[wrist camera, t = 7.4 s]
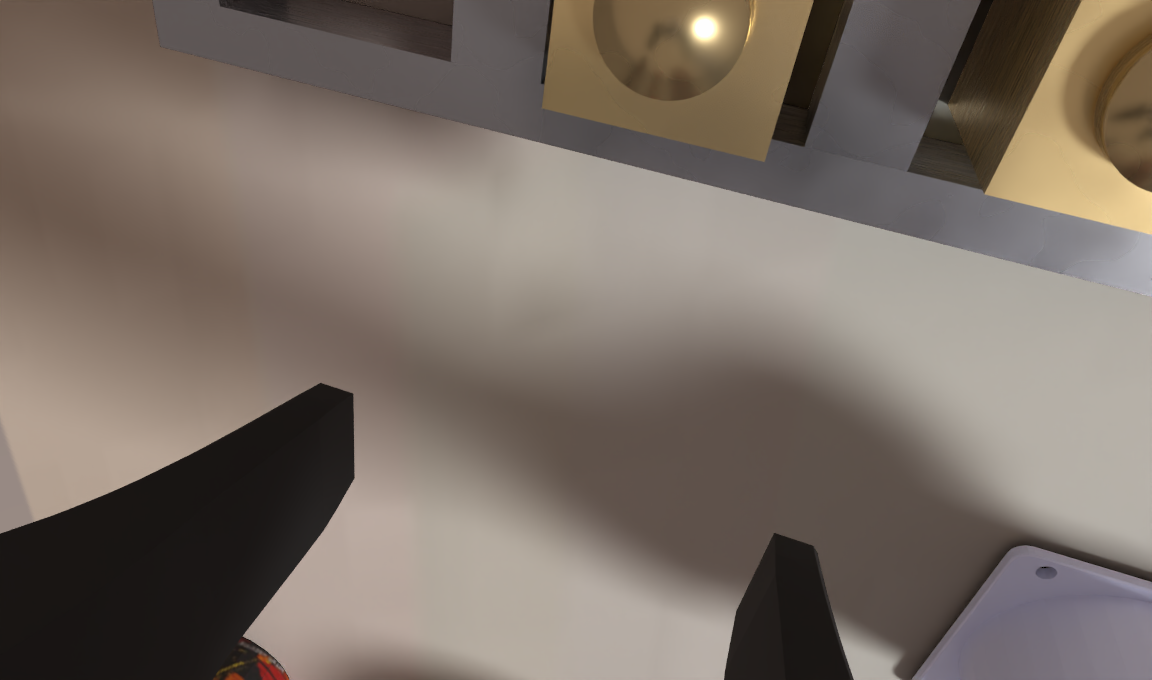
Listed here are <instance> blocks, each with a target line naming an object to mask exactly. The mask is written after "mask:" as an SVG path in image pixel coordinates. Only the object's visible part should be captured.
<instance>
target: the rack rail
mask: <svg viewBox="0 0 1152 680" xmlns="http://www.w3.org/2000/svg"><path fill="white" fill-rule="evenodd" d="M152 1H153V7H154V13H155V19H156V24H157V30H158V36H159V42H160V47H163V48H167V49H171V50H175V51H179V52H183V53H187V54H191V55H195V56H199V57H203V58H207V59H211V60H215V61H219V62H223V63H227V64H231V65H235V66H239V67H243V68H246V69H250V70H254V71H258V72H262V73H266V74H270V75H274V76H278V77H282V78H286V79H290V80H294V81H298V82H302V83H306V84H310V85H314V86H318V87H322V88H326V89H330V90H334V91H338V92H342V93H346V94H350V95H354V96H358V97H362V98H365V99H369V100H373V101H377V102H381V103H385V104H389V105H393V106H397V107H401V108H405V109H409V110H413V111H417V112H421V113H425V114H429V115H433V116H437V117H441V118H445V119H449V120H453V121H457V122H461V123H465V124H469V125H473V126H477V127H481V128H485V129H488V130H492V131H496V132H500V133H504V134H508V135H512V136H516V137H520V138H524V139H528V140H532V141H536V142H540V143H544V144H548V145H552V146H556V147H560V148H564V149H568V150H572V151H576V152H580V153H584V154H588V155H592V156H596V157H600V158H604V159H607V160H611V161H615V162H619V163H623V164H627V165H631V166H635V167H639V168H643V169H647V170H651V171H655V172H659V173H663V174H667V175H671V176H675V177H679V178H683V179H687V180H691V181H695V182H699V183H703V184H707V185H711V186H715V187H719V188H723V189H726V190H730V191H734V192H738V193H742V194H746V195H750V196H754V197H758V198H762V199H766V200H770V201H774V202H778V203H782V204H786V205H790V206H794V207H798V208H802V209H806V210H810V211H814V212H818V213H822V214H826V215H830V216H834V217H838V218H842V219H845V220H849V221H853V222H857V223H861V224H865V225H869V226H873V227H877V228H881V229H885V230H889V231H893V232H897V233H901V234H905V235H909V236H913V237H917V238H921V239H925V240H929V241H933V242H937V243H941V244H945V245H949V246H953V247H957V248H961V249H964V250H968V251H972V252H976V253H980V254H984V255H988V256H992V257H996V258H1000V259H1004V260H1008V261H1012V262H1016V263H1020V264H1024V265H1028V266H1032V267H1036V268H1040V269H1044V270H1048V271H1052V272H1056V273H1060V274H1064V275H1068V276H1072V277H1076V278H1080V279H1083V280H1087V281H1091V282H1095V283H1099V284H1103V285H1107V286H1111V287H1115V288H1119V289H1123V290H1127V291H1131V292H1135V293H1139V294H1143V295H1147V296H1151V297H1152V235H1151V234H1147V233H1143V232H1138V231H1134V230H1130V229H1126V228H1122V227H1118V226H1114V225H1109V224H1105V223H1101V222H1097V221H1093V220H1089V219H1085V218H1080V217H1076V216H1072V215H1068V214H1064V213H1060V212H1056V211H1051V210H1047V209H1043V208H1039V207H1035V206H1031V205H1027V204H1022V203H1018V202H1014V201H1010V200H1006V199H1002V198H998V197H993V196H989V195H985V194H984V193H983V190H982V188H981V185H980V183H979V180H978V178H977V175H976V173H975V170H974V168H973V165H972V163H971V160H970V158H969V155H968V153H967V151H966V148H965V146H963V145H958V144H954V143H950V142H946V141H941V140H937V139H933V138H928V137H924V136H923V134H924V131H925V129H926V127H927V124H928V122H929V120H930V117H931V115H932V113H933V110H934V108H935V106H936V104H937V101H938V99H939V97H940V94H941V92H942V90H943V87H944V85H945V83H946V80H947V78H948V76H949V73H950V71H951V69H952V66H953V64H954V62H955V59H956V57H957V55H958V52H959V50H960V48H961V46H962V43H963V41H964V39H965V36H966V34H967V32H968V29H969V27H970V25H971V22H972V20H973V18H974V15H975V13H976V11H977V8H978V6H979V4H980V1H981V0H844V2H843V5H842V8H841V11H840V14H839V17H838V20H837V23H836V26H835V29H834V32H833V35H832V38H831V42H830V45H829V48H828V51H827V54H826V57H825V60H824V63H823V66H822V69H821V72H820V75H819V78H818V81H817V84H816V87H815V90H814V93H813V96H812V99H811V102H810V105H809V108H808V109H804V108H800V107H796V106H791V105H787V104H783V103H782V106H781V109H780V113H779V116H778V119H777V122H776V126H775V129H774V132H773V136H772V139H771V142H770V145H769V149H768V152H767V155H766V159H765V162H762V161H758V160H754V159H750V158H746V157H742V156H738V155H733V154H729V153H725V152H721V151H717V150H713V149H709V148H704V147H700V146H696V145H692V144H688V143H684V142H680V141H675V140H671V139H667V138H663V137H659V136H655V135H651V134H646V133H642V132H638V131H634V130H630V129H626V128H622V127H617V126H613V125H609V124H605V123H601V122H597V121H593V120H588V119H584V118H580V117H576V116H572V115H568V114H564V113H559V112H555V111H551V110H547V109H543V108H542V103H543V94H544V85H545V77H546V68H547V60H548V51H549V42H550V34H551V25H552V17H553V8H554V0H454V7H453V26H449V25H445V24H440V23H436V22H432V21H427V20H423V19H419V18H415V17H410V16H406V15H402V14H397V13H393V12H389V11H385V10H380V9H376V8H372V7H367V6H363V5H359V4H355V3H350V2H346V1H342V0H152Z"/></svg>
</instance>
